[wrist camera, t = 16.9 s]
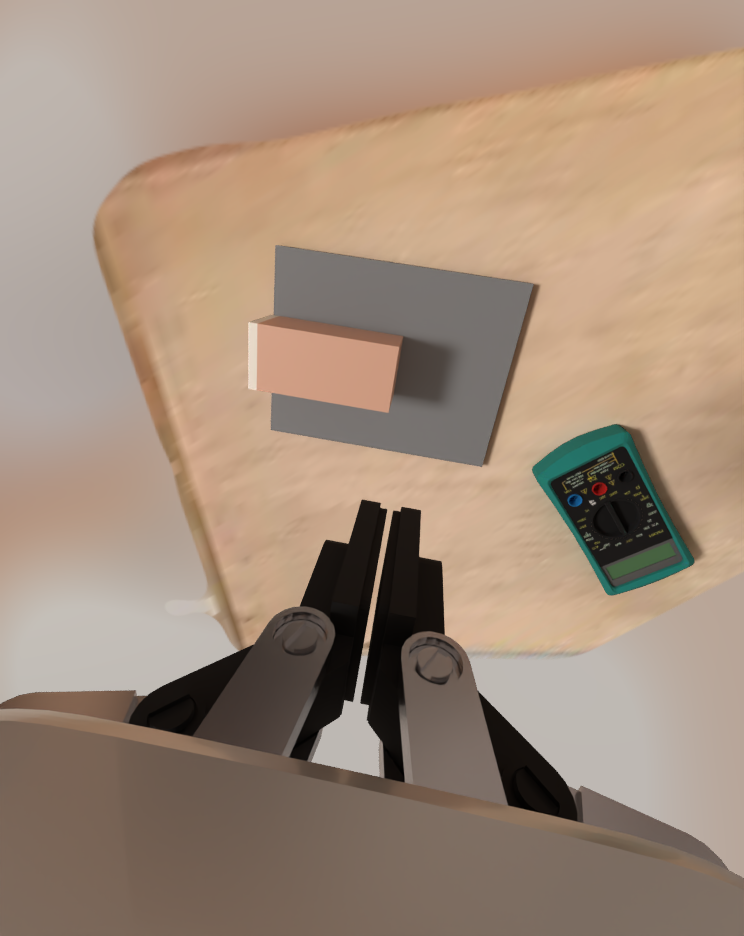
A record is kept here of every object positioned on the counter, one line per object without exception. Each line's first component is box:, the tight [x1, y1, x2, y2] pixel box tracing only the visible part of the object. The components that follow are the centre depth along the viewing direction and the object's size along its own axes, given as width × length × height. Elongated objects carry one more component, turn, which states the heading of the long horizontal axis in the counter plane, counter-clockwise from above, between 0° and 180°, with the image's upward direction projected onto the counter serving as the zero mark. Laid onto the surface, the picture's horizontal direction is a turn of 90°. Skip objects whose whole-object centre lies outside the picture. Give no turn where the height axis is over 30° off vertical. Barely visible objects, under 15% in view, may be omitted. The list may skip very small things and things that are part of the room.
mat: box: [271, 245, 534, 467], centre depth 32 cm, size 18×14×1 cm
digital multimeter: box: [532, 424, 695, 596], centre depth 35 cm, size 7×15×3 cm, turn 36°
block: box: [248, 315, 403, 413], centre depth 30 cm, size 4×4×10 cm
